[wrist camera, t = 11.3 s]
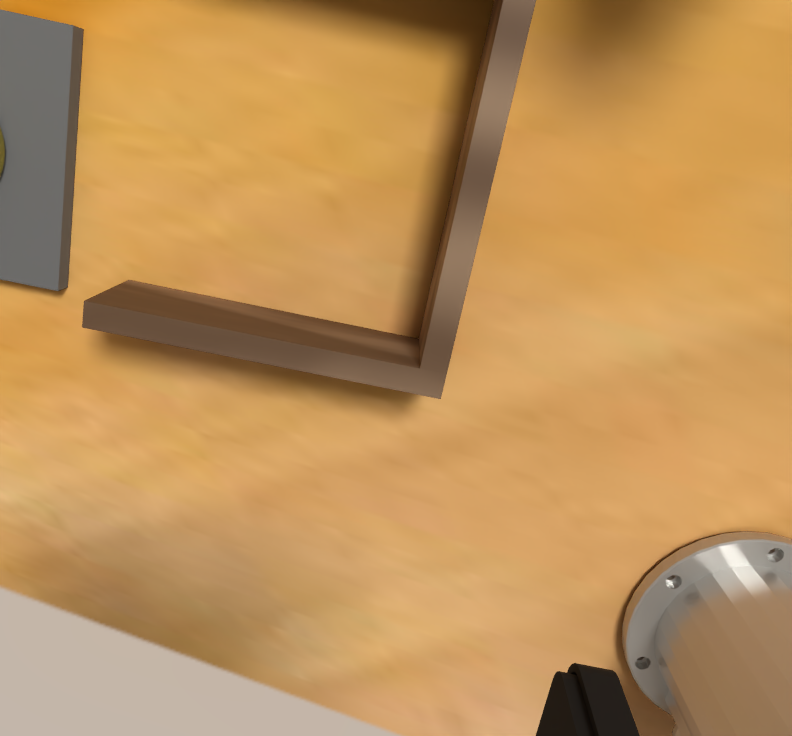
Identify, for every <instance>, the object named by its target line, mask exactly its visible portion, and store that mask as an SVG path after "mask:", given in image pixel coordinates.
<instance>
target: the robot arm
mask: <svg viewBox="0 0 792 736" xmlns="http://www.w3.org/2000/svg"><path fill="white" fill-rule="evenodd" d="M622 645H623V650H624V654H625V659H626V662H627V664H628V666H629V668H630V671H631V673H632V676H633V678H634V680H635V681H636V683H637V684H638V686H639V687H640V689H641V691H642V692H643V693H644V694H645V695H646V696H647V697H648V698H649V699H650V700H651V701H652V702H653V703H654V704H655V705H657V706H658V707H660V708H661V709H663V710H664V711H666V712H667V713H669V714H671V715H672V717H673V719H674V721H675V723H676V724H675V727H674V729H673V731H672V735H673V736H792V539H790V538H787V537H783V536H779V535H775V534H771V533H764V532H748V531H744V532H734V533H725V534H720V535H716V536H712V537H709V538H705V539H701V540H699V541H697V542H695V543H692V544H690V545H688V546H686V547H683V548H681V549H679V550H678V551H676V552H675V553H673V554H672V555H670V556H669V557H667V558H666V559H664V560H663V561H662V562H660V563H659V564H658V565H657V566H656V567H655V568H654V569H653V570H652V571H651V572H650V573H649V574H648V575H647V576H646V577H645V578H644V580H643V581H642V582H641V584H640V585H639V586H638V588H637V589H636V590H635V592H634V594H633V596H632V598H631V600H630V602H629V604H628V606H627V609H626V613H625V617H624V621H623V625H622ZM536 736H639V733H638V730H637V727H636V725H635V722H634V719H633V717H632V714H631V711H630V708H629V706H628V703H627V700H626V697H625V695H624V692H623V689H622V686H621V684H620V681H619V678H618V676H617V674H616V673H615V672H614V671H612V670H607V669H602V668H597V667H592V666H587V665H582V664H576V663H574V664H572V665H571V666H570V667H569V669H568V672H567V673H565V672H560V671H558V672H556V674H555V675H554V678H553V681H552V684H551V687H550V691H549V694H548V697H547V700H546V704H545V707H544V710H543V714H542V717H541V720H540V724H539V727H538V730H537V733H536Z"/></svg>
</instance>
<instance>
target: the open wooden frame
mask: <svg viewBox="0 0 792 736" xmlns="http://www.w3.org/2000/svg"><path fill="white" fill-rule="evenodd" d="M535 2H536V0H494V3H493V7H492V12H491V16H490V21H489V25H488V30H487V34H486V39H485V43H484V48H483V52H482V57H481V61H480V66H479V70H478V75H477V79H476V84H475V88H474V93H473V97H472V102H471V106H470V111H469V115H468V120H467V124H466V129H465V133H464V138H463V142H462V147H461V151H460V156H459V160H458V165H457V169H456V174H455V178H454V183H453V187H452V192H451V196H450V201H449V205H448V209H447V214H446V218H445V223H444V227H443V232H442V236H441V241H440V245H439V250H438V254H437V259H436V263H435V268H434V272H433V277H432V281H431V286H430V290H429V295H428V299H427V304H426V308H425V313H424V317H423V322H422V326H421V331H420V335H419V339H417V338H412V337H407V336H402V335H397V334H392V333H387V332H382V331H377V330H372V329H368V328H363V327H358V326H353V325H348V324H343V323H338V322H333V321H328V320H323V319H318V318H314V317H309V316H304V315H299V314H294V313H289V312H284V311H279V310H274V309H269V308H264V307H259V306H255V305H250V304H245V303H240V302H235V301H230V300H225V299H220V298H215V297H210V296H205V295H201V294H196V293H191V292H186V291H181V290H176V289H171V288H166V287H161V286H156V285H151V284H147V283H142V282H137V281H132V280H128V281H126V282H123V283H121V284H119V285H117V286H115V287H113V288H111V289H108V290H106V291H104V292H102V293H100V294H98V295H96V296H93V297H91V298H89V299H87V300H85V301H84V309H83V324H82V327H83V328H88V329H93V330H98V331H103V332H108V333H113V334H118V335H123V336H128V337H133V338H138V339H143V340H148V341H153V342H158V343H163V344H168V345H173V346H178V347H183V348H188V349H193V350H198V351H203V352H208V353H213V354H218V355H223V356H228V357H233V358H238V359H243V360H248V361H253V362H258V363H263V364H268V365H273V366H278V367H283V368H288V369H293V370H298V371H303V372H308V373H313V374H318V375H323V376H328V377H333V378H338V379H343V380H348V381H353V382H358V383H363V384H368V385H373V386H378V387H383V388H388V389H393V390H398V391H403V392H408V393H413V394H418V395H423V396H428V397H433V398H438V399H441V395H442V391H443V387H444V383H445V379H446V374H447V370H448V366H449V362H450V358H451V353H452V349H453V345H454V341H455V337H456V333H457V328H458V324H459V320H460V316H461V312H462V308H463V303H464V299H465V295H466V291H467V287H468V282H469V278H470V274H471V270H472V266H473V262H474V257H475V253H476V249H477V245H478V241H479V236H480V232H481V228H482V224H483V220H484V216H485V211H486V207H487V203H488V199H489V195H490V190H491V186H492V182H493V178H494V174H495V170H496V165H497V161H498V157H499V153H500V149H501V144H502V140H503V136H504V132H505V128H506V124H507V119H508V115H509V111H510V107H511V103H512V99H513V94H514V90H515V86H516V82H517V78H518V73H519V69H520V65H521V61H522V57H523V53H524V48H525V44H526V40H527V36H528V32H529V27H530V23H531V19H532V15H533V11H534V7H535Z"/></svg>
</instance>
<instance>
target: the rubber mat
mask: <svg viewBox="0 0 792 736" xmlns="http://www.w3.org/2000/svg"><path fill="white" fill-rule="evenodd" d="M82 46H83V29H81V28H79V27H76V26H73V25H68V24H64V23H59V22H55V21H50V20H45V19H41V18H36V17H32V16H27V15H23V14H18V13H13V12H9V11H4V10H0V128H1V131H2V134H3V139H4V144H5V160H4V166H3V170H2V173H1V176H0V279H1V280H6V281H11V282H16V283H21V284H26V285H31V286H36V287H41V288H45V289H50V290H55V291H59V290H62V289H64V288H67V287H68V274H69V258H70V242H71V225H72V209H73V193H74V176H75V160H76V144H77V127H78V111H79V95H80V78H81V62H82Z"/></svg>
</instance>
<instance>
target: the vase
mask: <svg viewBox="0 0 792 736" xmlns="http://www.w3.org/2000/svg"><path fill="white" fill-rule="evenodd" d="M4 160H5V144H4V139H3V134H2V131H1V128H0V176H1V173H2V170H3V166H4Z"/></svg>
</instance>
